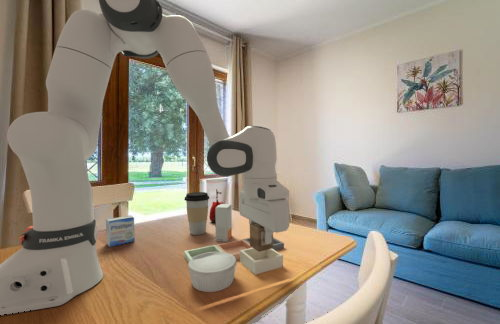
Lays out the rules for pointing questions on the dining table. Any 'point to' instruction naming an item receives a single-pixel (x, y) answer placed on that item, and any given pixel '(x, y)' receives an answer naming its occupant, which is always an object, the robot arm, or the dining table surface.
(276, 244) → the tray far charcoal
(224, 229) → the skincare box
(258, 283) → the dining table surface
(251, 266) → the cream square open box
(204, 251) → the tray near sage
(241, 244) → the tray middle terracotta
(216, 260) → the ramekin
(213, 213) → the red clay folk toy
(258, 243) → the tan block
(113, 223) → the medicine box
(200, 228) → the coffee cup
